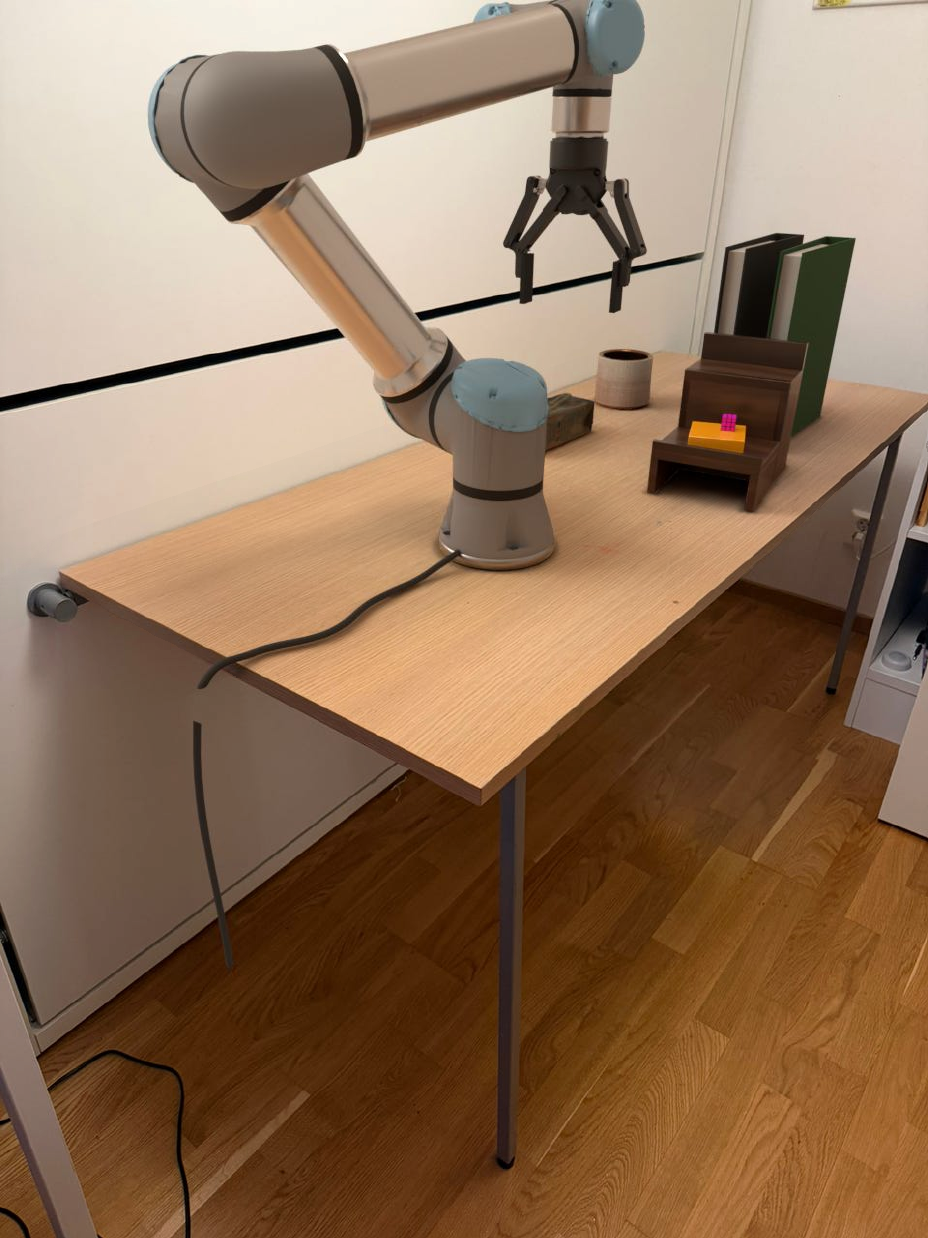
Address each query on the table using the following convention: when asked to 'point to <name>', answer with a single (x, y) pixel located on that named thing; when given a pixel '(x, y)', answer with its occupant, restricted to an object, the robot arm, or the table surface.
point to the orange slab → (719, 434)
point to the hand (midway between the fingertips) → (569, 307)
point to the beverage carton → (568, 418)
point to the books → (788, 302)
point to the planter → (623, 378)
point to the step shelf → (736, 411)
